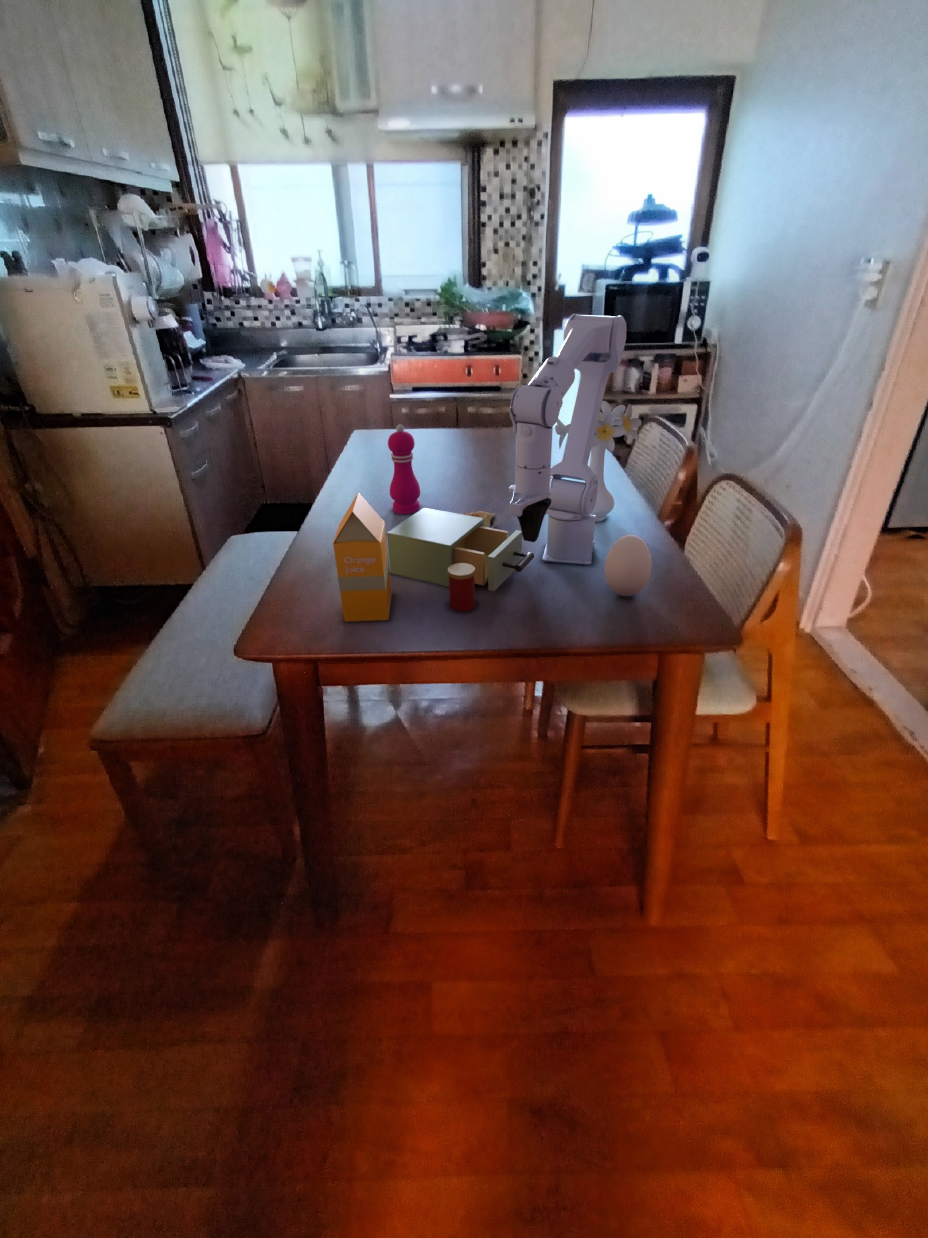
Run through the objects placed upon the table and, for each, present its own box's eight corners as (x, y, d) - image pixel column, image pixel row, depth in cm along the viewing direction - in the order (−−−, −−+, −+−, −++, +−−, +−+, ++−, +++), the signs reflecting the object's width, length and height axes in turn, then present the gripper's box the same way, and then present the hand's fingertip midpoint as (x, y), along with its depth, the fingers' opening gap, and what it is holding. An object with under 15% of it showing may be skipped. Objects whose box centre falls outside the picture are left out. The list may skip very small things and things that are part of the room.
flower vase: (545, 508, 147) (550, 398, 133) (622, 505, 147) (635, 396, 134) (553, 530, 136) (560, 414, 122) (637, 527, 136) (653, 411, 123)
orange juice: (392, 594, 113) (382, 489, 103) (389, 620, 106) (377, 510, 95) (349, 596, 113) (335, 491, 103) (343, 621, 106) (326, 511, 95)
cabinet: (484, 557, 125) (484, 518, 121) (452, 587, 115) (450, 545, 110) (426, 545, 131) (424, 507, 126) (390, 573, 121) (386, 532, 116)
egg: (593, 594, 112) (598, 536, 106) (618, 579, 116) (624, 522, 110) (631, 610, 107) (639, 550, 101) (655, 593, 111) (665, 535, 105)
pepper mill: (385, 512, 147) (376, 426, 136) (401, 501, 152) (394, 419, 142) (411, 517, 144) (404, 430, 133) (427, 506, 149) (422, 422, 139)
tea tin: (477, 599, 111) (477, 563, 107) (472, 613, 107) (471, 576, 103) (452, 597, 112) (451, 561, 108) (446, 610, 108) (444, 574, 104)
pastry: (449, 530, 137) (448, 513, 135) (462, 519, 142) (461, 503, 140) (488, 536, 134) (488, 519, 132) (500, 524, 139) (500, 508, 137)
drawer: (540, 567, 119) (541, 534, 116) (513, 596, 110) (514, 562, 106) (464, 551, 126) (463, 520, 122) (434, 577, 117) (432, 544, 113)
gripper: (527, 448, 108) (525, 520, 115) (491, 474, 97) (491, 552, 104) (566, 453, 105) (561, 527, 112) (533, 480, 94) (530, 560, 102)
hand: (530, 539), depth 108 cm, fingers closed
